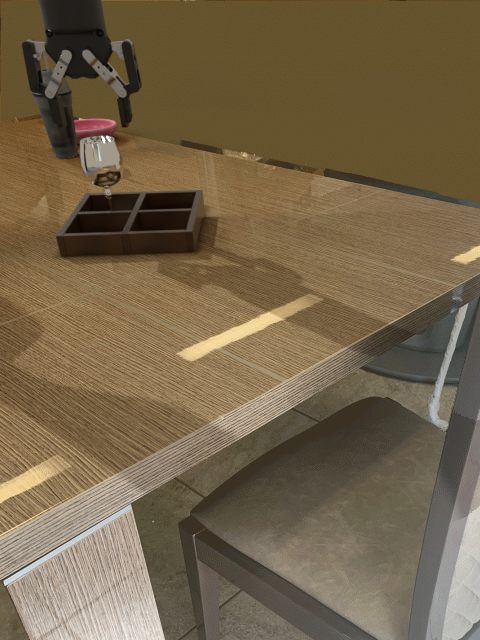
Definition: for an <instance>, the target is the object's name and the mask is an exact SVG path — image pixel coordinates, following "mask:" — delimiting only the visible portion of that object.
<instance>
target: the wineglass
mask: <svg viewBox="0 0 480 640" xmlns="http://www.w3.org/2000/svg"><path fill="white" fill-rule="evenodd" d="M79 161H80V168H81V171H82V174H83V176H84V178H85V179H86V180H87V181H88V182H89V183H90V184H92V185H93V186H95V187H99V188H104V191H103V193H105V197H106V198H107V201H108V204H109V208H110V211H113V207H112V193H113V192H112V191H111V190H112V189H110V188H111V187H113V186H115V185H116V184H118V183H119V182H121V180H122V178H123V176H124V172H125V171H124V162H123V157H122V154H121V151H120V149H119V147H118V144H117V142H116V140H115V137H113V136H112V137H110V136H93V137H87V138H84V139H82V140H80V144H79Z"/></svg>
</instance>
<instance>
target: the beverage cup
mask: <svg viewBox="0 0 480 640" xmlns="http://www.w3.org/2000/svg"><path fill="white" fill-rule="evenodd" d="M43 58H44V63H45V67H46V69H41V72H42V77H43V83H46V84H49V82H50V79H51V76H52V74H53V72H54V70H55V69H51V68H50V64H49V60H48V54H47V52H46V51H44V53H43ZM58 95H59V96H61V98H62V103H63V108H64V112H65V117H66V121H67V126H66V127H65V128H59V127H58V124H54V122H53V120H52V117H51V113H50V108H49V104H48V100H47V98H46V97H45V96H44V95H41V94H39V93H33V92H32V96H33V98H34V101H35V104H36V107H38V109H39V113H40V115H41V119H42V122H43V125H44V127H45V131H46V134H47V136H48V140H49V143H50V146H51V149H52V151H53V154H54V156H55V158H57V159H70V158H69V157H72V158H74V157H73V156H76V155H78V156H79V151H78V149H79V148H78V144H77V139H76V132H75V125H74V121H75V120H74V119H75V117H74V112H73V96H72V89H71V86H70V84H69V82H68V81H67V78H66V79H65V81H64V82H63V84H62V86H61V88H60V90H59V93H58ZM76 157H77V156H76Z"/></svg>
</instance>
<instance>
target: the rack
mask: <svg viewBox="0 0 480 640" xmlns="http://www.w3.org/2000/svg"><path fill="white" fill-rule="evenodd" d="M111 193H112V207H113V211H110V208H109V204H108V201H107V198H106V197H105V192H89V193H84V195H83V196H82V198H80V200H79V202H78V203H77V204H76V207H75V208H74V209H73V210H72V212H71V213H70V215H69V217H68V218H67V219H66V221H65V222H64V224H63V225H62V226H61V228H60V229H59V231H58V232H57V234H56V235H55V239H56V242H57V247H58V250H59V254H60V257H64V258H65V257H86V256H87V257H88V256H89V257H92V256H115V255H116V256H120V255H121V256H122V255H147V254H148V255H150V254H151V255H152V254H172V253H173V254H174V253H175V254H176V253H178V254H179V253H196V249H197V245H198V240H199V236H200V232H201V231H200V230H201V226H202V221H203V218H206V209H205V201H204V192H203V189H189V190H187V189H185V190H154V191H153V190H151V191H125V192H124V191H122V192H121V191H120V192H111Z"/></svg>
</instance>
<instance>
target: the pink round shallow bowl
mask: <svg viewBox="0 0 480 640" xmlns="http://www.w3.org/2000/svg"><path fill="white" fill-rule="evenodd" d="M74 125H75V132H76V139H77V145H80V140H82V139H84V138H87V137H93V136H110V137H113V136H114V134H115V133H116V131H117V129H118V124H117V121H116V120H113V119H108V118H83V119H75V120H74Z"/></svg>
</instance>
